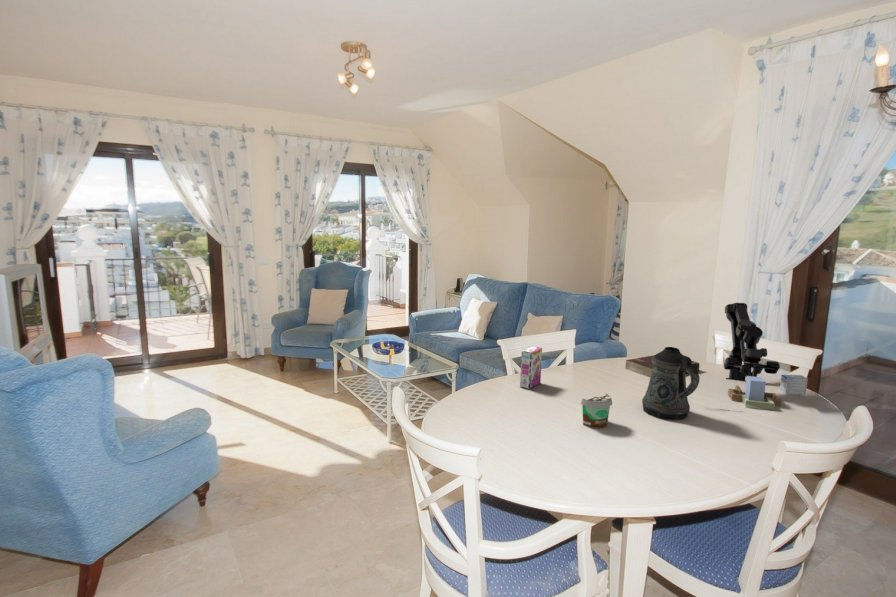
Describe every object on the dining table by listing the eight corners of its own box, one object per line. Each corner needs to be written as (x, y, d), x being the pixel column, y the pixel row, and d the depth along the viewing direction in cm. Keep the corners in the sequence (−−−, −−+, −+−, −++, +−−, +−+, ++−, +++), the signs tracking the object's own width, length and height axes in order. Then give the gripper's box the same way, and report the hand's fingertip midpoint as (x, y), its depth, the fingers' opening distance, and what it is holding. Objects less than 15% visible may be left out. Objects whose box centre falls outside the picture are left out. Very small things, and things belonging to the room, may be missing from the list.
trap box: (724, 393, 202) (725, 384, 202) (770, 398, 197) (771, 388, 196) (734, 409, 184) (735, 399, 184) (784, 415, 179) (786, 405, 178)
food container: (592, 432, 164) (593, 404, 162) (579, 425, 169) (581, 398, 168) (618, 425, 169) (620, 398, 168) (605, 419, 175) (607, 392, 173)
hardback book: (657, 380, 220) (657, 370, 219) (625, 369, 237) (625, 359, 236) (698, 372, 233) (699, 362, 232) (666, 362, 249) (666, 353, 249)
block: (744, 397, 193) (747, 375, 192) (759, 399, 192) (761, 377, 190) (748, 402, 188) (750, 380, 186) (763, 404, 186) (765, 381, 185)
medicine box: (798, 394, 201) (801, 374, 200) (805, 398, 197) (808, 378, 195) (778, 394, 202) (781, 374, 201) (785, 397, 198) (787, 377, 196)
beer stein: (647, 400, 193) (651, 340, 189) (701, 411, 182) (706, 347, 178) (636, 413, 180) (641, 349, 176) (694, 426, 169) (700, 357, 165)
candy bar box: (530, 389, 206) (531, 352, 203) (519, 387, 208) (520, 350, 206) (541, 383, 215) (542, 347, 212) (531, 380, 217) (532, 345, 215)
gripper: (727, 338, 198) (731, 371, 189) (781, 342, 191) (786, 376, 183) (722, 352, 206) (725, 384, 197) (773, 356, 200) (778, 390, 191)
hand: (753, 384), depth 192 cm, fingers closed
